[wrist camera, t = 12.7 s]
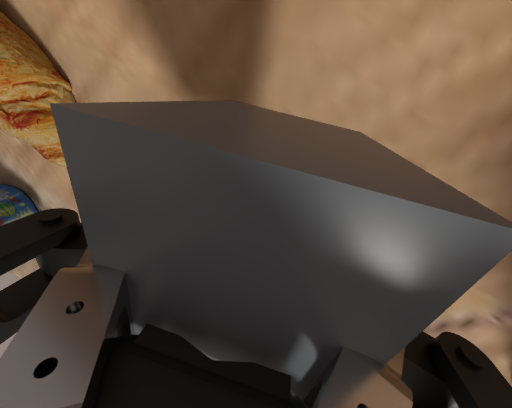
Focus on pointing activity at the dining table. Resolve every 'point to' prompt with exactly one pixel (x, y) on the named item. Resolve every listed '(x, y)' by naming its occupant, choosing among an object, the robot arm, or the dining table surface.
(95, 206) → the grey rectangular box
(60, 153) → the croissant
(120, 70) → the dining table surface
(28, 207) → the snack cup
